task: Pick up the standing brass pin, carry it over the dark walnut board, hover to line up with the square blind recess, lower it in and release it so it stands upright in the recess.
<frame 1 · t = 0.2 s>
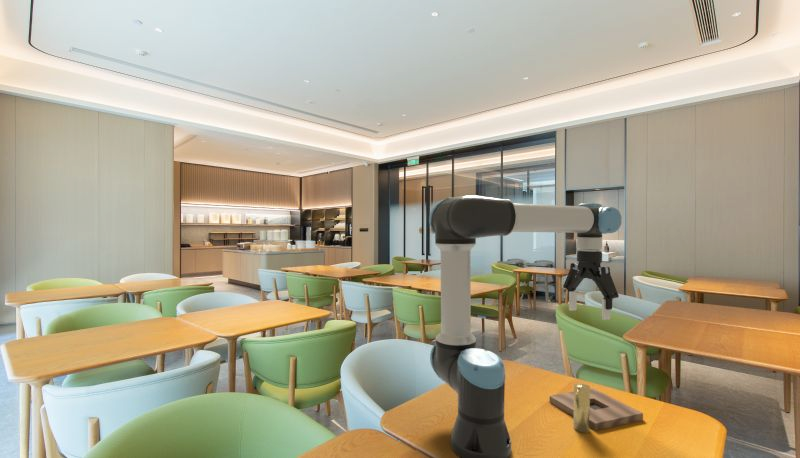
hand: (588, 314, 126), 27 cm above the table, fingers open, 13 cm apart
pin: (581, 428, 106), on the table
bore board: (594, 410, 117), on the table
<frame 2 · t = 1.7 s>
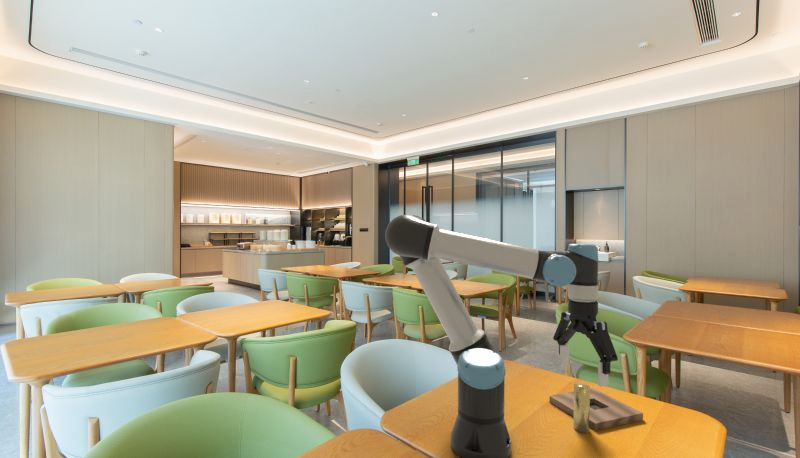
hand: (582, 375, 106), 15 cm above the table, fingers open, 13 cm apart
nothing on the table moved.
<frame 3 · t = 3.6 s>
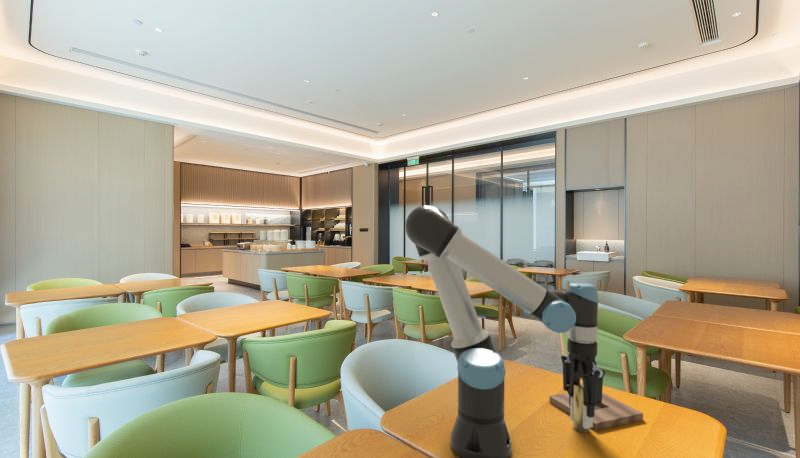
hand: (581, 423, 106), 2 cm above the table, fingers closed on pin, 4 cm apart
pin: (580, 428, 106), on the table, touching gripper
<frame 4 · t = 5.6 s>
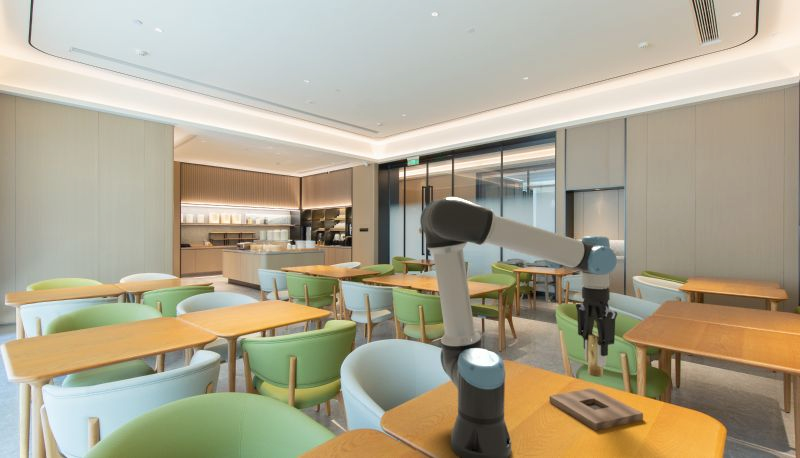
hand: (595, 362, 116), 15 cm above the table, fingers closed on pin, 4 cm apart
pin: (595, 374, 116), point 11 cm above the table, touching gripper
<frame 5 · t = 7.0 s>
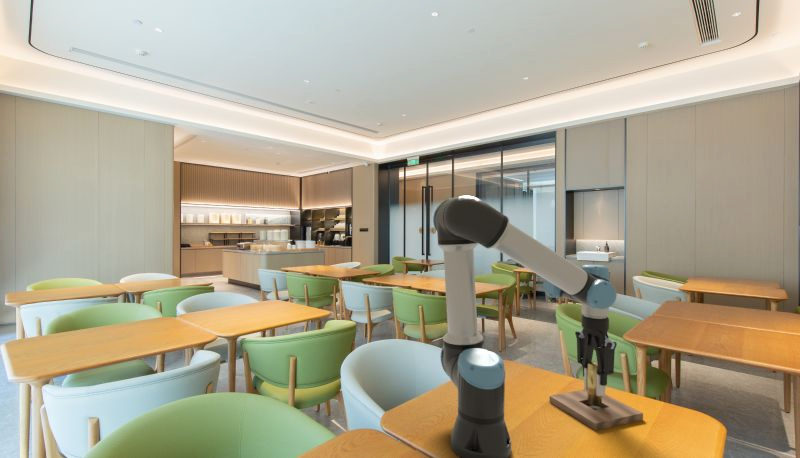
hand: (594, 391, 116), 6 cm above the table, fingers closed on pin, 4 cm apart
pin: (594, 403, 117), point 2 cm above the table, touching gripper
when the fingers open (3 cm above the table, at t = 7.7 s): pin stays where it is, resting on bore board.
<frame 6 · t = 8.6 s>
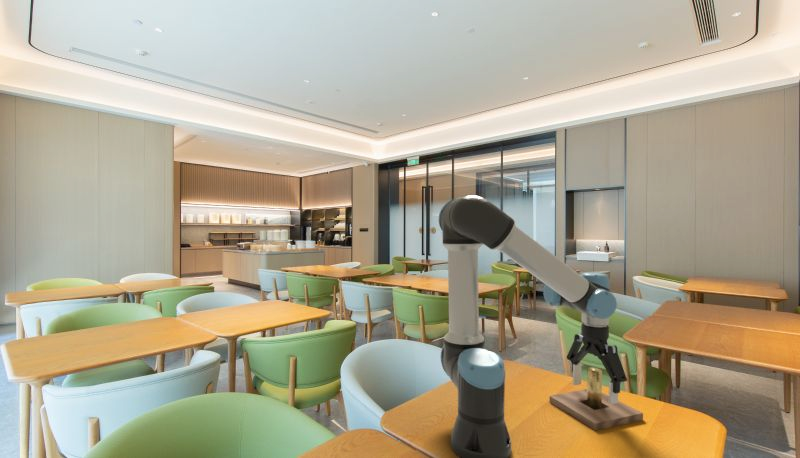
hand: (594, 393, 116), 5 cm above the table, fingers open, 13 cm apart
pin: (594, 409, 116), point 1 cm above the table, touching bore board
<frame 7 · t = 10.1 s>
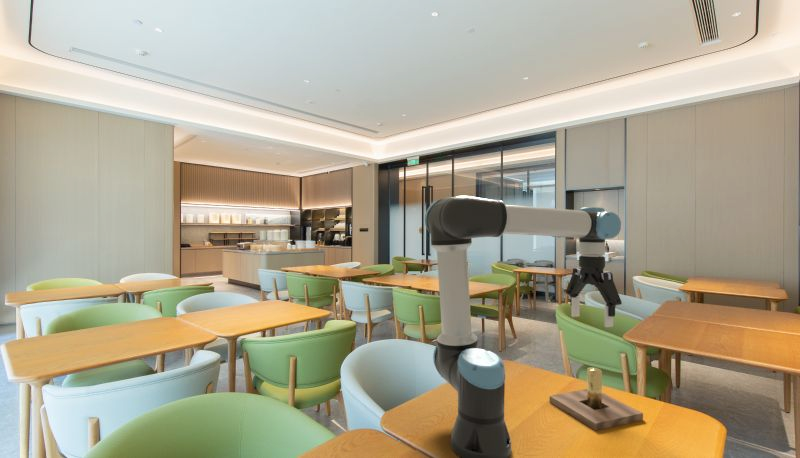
hand: (591, 321, 122), 26 cm above the table, fingers open, 13 cm apart
nothing on the table moved.
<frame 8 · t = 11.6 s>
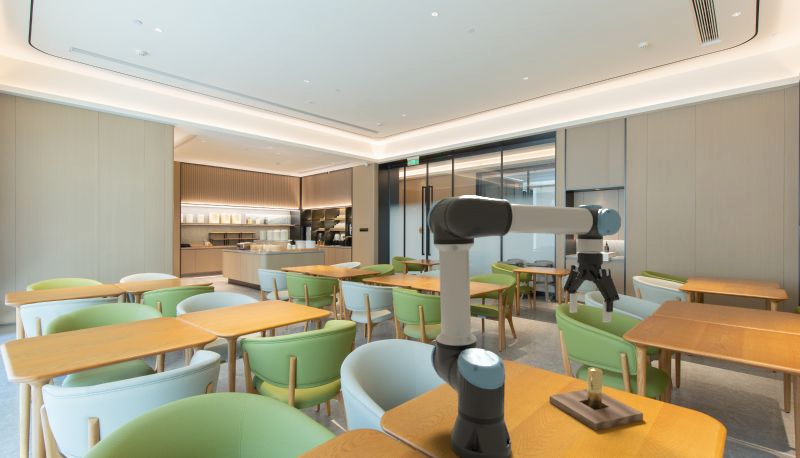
hand: (589, 317, 125), 27 cm above the table, fingers open, 13 cm apart
nothing on the table moved.
at the end: pin 0.1 cm off-centre on the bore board, point 0.5 cm above the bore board's base; pin tilted 1°; the gripper is holding nothing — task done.
